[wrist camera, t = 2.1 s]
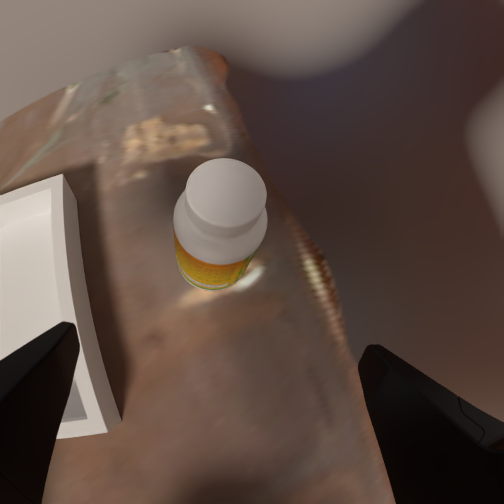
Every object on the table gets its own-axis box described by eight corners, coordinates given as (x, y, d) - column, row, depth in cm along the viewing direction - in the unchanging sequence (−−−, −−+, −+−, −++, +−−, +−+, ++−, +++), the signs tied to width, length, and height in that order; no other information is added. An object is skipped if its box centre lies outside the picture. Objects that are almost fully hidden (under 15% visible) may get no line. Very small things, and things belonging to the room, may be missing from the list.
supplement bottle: (241, 298, 23) (276, 251, 14) (170, 285, 22) (158, 229, 13) (250, 233, 25) (285, 159, 16) (184, 220, 24) (185, 138, 15)
